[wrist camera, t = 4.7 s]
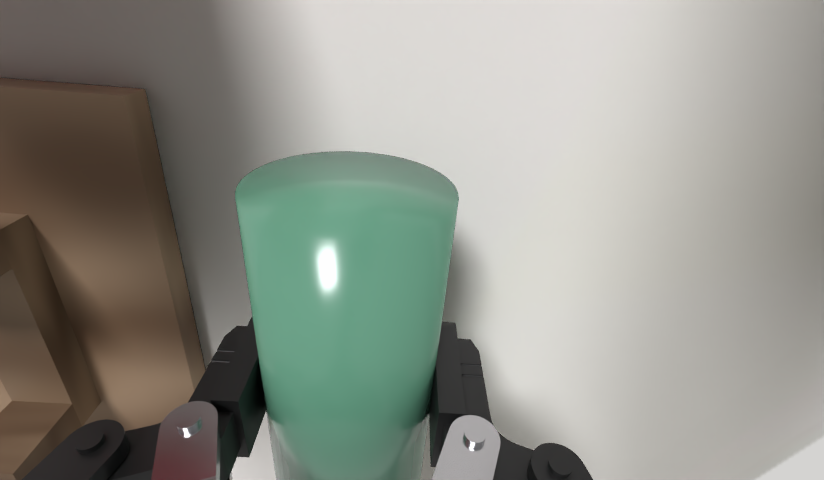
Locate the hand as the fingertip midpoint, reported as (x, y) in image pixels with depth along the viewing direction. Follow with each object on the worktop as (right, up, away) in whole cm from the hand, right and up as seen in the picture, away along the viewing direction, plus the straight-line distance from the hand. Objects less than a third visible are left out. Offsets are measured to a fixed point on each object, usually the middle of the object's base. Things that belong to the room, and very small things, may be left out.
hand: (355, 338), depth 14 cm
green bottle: (0, -2, +2) cm, 3 cm away
